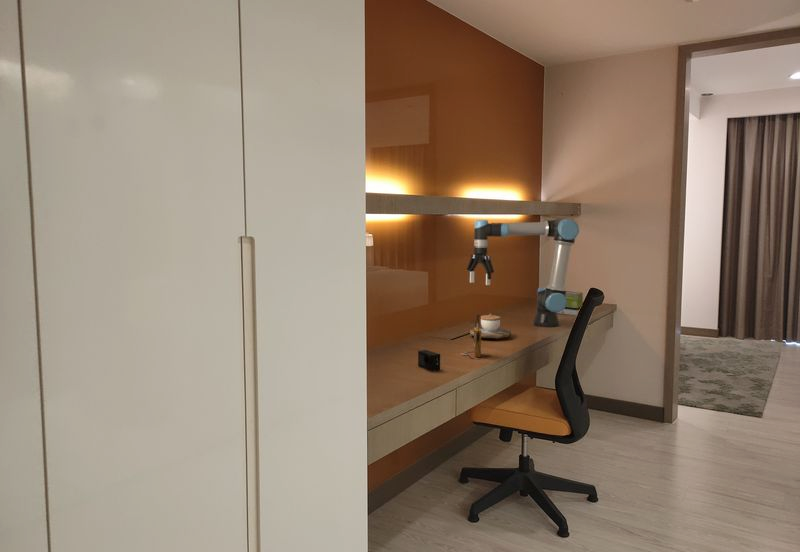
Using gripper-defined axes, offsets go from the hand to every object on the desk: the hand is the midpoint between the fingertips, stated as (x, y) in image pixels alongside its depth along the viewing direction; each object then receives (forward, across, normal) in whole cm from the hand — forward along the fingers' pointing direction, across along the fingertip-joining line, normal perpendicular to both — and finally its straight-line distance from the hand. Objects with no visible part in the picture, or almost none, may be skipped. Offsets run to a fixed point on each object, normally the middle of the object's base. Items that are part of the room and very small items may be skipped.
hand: (479, 283), depth 353 cm
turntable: (+25, +20, -10) cm, 33 cm away
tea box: (+27, -8, +89) cm, 93 cm away
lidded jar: (+23, +20, -10) cm, 32 cm away
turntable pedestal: (+27, +20, -10) cm, 35 cm away
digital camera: (+27, +53, -78) cm, 98 cm away
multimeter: (+27, +46, -48) cm, 72 cm away
